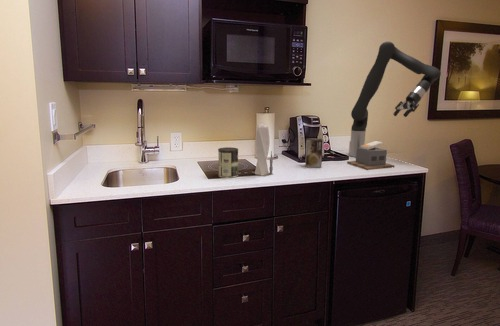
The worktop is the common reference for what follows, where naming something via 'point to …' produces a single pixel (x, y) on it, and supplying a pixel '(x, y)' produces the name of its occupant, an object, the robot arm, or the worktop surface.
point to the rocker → (371, 145)
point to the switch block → (371, 156)
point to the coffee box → (313, 152)
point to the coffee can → (228, 162)
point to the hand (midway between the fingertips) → (399, 115)
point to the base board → (369, 166)
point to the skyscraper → (262, 150)
